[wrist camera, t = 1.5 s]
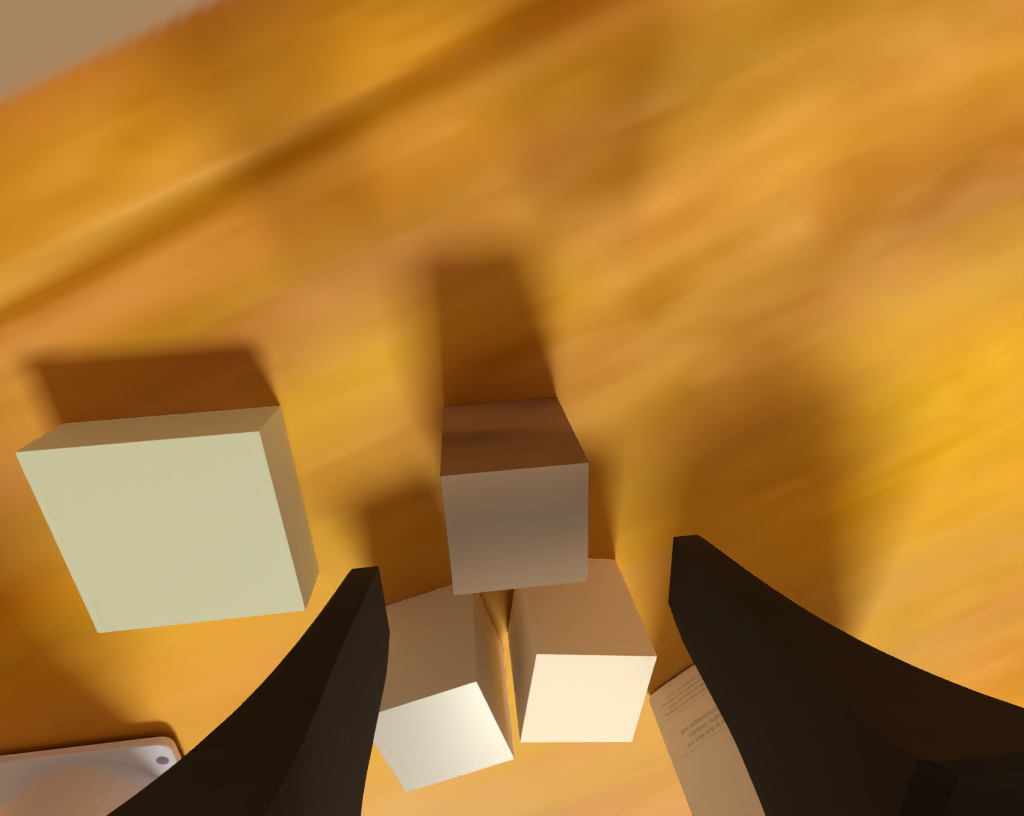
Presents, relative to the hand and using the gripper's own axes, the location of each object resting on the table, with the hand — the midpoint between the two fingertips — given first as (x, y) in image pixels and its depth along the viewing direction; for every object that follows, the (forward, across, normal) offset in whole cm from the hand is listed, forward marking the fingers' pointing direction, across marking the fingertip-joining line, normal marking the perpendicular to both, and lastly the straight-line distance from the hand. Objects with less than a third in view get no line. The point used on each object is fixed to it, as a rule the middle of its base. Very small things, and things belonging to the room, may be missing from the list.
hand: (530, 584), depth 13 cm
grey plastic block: (+7, +3, +8) cm, 11 cm away
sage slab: (+8, +11, +1) cm, 13 cm away
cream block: (+7, -2, +7) cm, 10 cm away
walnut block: (+7, 0, 0) cm, 7 cm away
